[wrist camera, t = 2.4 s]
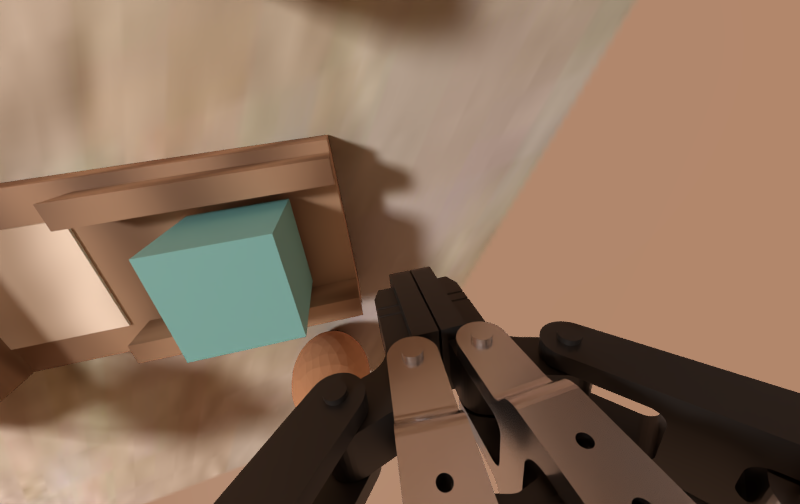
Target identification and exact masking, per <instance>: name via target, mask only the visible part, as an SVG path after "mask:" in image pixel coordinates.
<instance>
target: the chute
mask: <svg viewBox="0 0 800 504" xmlns="http://www.w3.org/2000/svg"><path fill="white" fill-rule="evenodd" d="M283 199H289V200H290V204H291V207H292V211H293V214H294V218H295V221H296V225H297V228H298V231H299V235H300V238H301V242H302V245H303V249H304V252H305V256H306V259H307V263H308V266H309V270H310V273H311V277H312V280H313V283H312V291H311V299H310V308H309V316H308V325H307V327H309V326H314V325H318V324H323V323H327V322H332V321H336V320H341V319H346V318H350V317H355V316H359V315H363V312H362V305H361V302H362V301H361V294H360V287H359V280H358V275H357V270H356V265H355V261H354V256H353V251H352V247H351V242H350V237H349V232H348V228H347V223H346V218H345V214H344V209H343V204H342V199H341V195H340V190H339V185H338V181H337V176H336V171H335V166H334V162H333V157H332V152H331V148H330V143H329V138H328V135H322V136H315V137H309V138H302V139H295V140H288V141H282V142H275V143H268V144H261V145H255V146H248V147H241V148H234V149H227V150H221V151H214V152H207V153H200V154H194V155H187V156H180V157H173V158H167V159H160V160H153V161H146V162H140V163H133V164H126V165H119V166H113V167H106V168H99V169H92V170H86V171H79V172H72V173H65V174H59V175H52V176H45V177H38V178H32V179H25V180H18V181H11V182H5V183H0V402H1V401H2V400H3V399H4V398H5V397H7V396H8V395H9V394H10V393H11V392H12V391H13V390H14V389H15V388H17V387H18V386H19V385H20V384H21V383H22V382H23V381H24V380H26V379H27V378H28V377H29V376H30V375H31V374H32V373H33V372H35V371H40V370H45V369H49V368H54V367H59V366H63V365H68V364H73V363H78V362H82V361H87V360H92V359H96V358H101V357H106V356H110V355H115V354H120V353H125V352H129V351H131V353H132V354H133V356H134V357H135V359H136V360H137V362H138V363H144V362H148V361H153V360H158V359H162V358H167V357H171V356H176V355H180V354H182V352H181V350H180V349H179V347H178V345H177V343H176V342H175V340H174V338H173V336H172V335H171V333H170V331H169V329H168V328H167V326H166V324H165V322H164V321H163V319H162V317H161V315H160V314H159V312H158V310H157V308H156V307H155V305H154V303H153V301H152V300H151V298H150V296H149V295H148V293H147V291H146V289H145V288H144V286H143V284H142V282H141V281H140V279H139V277H138V275H137V274H136V272H135V270H134V268H133V267H132V265H131V263H130V261H129V259H130V258H131V257H133V256H134V255H135V254H137V253H138V252H139V251H141V250H142V249H143V248H145V247H146V246H147V245H149V244H150V243H151V242H153V241H154V240H155V239H157V238H158V237H159V236H161V235H162V234H163V233H165V232H166V231H167V230H169V229H170V228H171V227H173V226H174V225H175V224H177V223H178V222H179V221H181V220H182V219H183V218H185V217H186V216H189V215H195V214H200V213H206V212H212V211H218V210H224V209H230V208H236V207H242V206H248V205H254V204H259V203H265V202H271V201H277V200H283Z"/></svg>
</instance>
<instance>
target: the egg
mask: <svg viewBox="0 0 800 504" xmlns="http://www.w3.org/2000/svg"><path fill="white" fill-rule="evenodd" d="M336 373H351V374H354V375H356V376H358V377H359V378H360V379H361V378H363V377H364V376H366V375H368V374H370V370H369V364H368V360H367V357H366V354H365V352H364V350H363V349H362V347H361V345H360V344H359V343H358V342H357V341H356V340H355V339H354V338H353V337H351V336H350V335H348V334H346V333H343V332H339V331H328V332H324V333H321V334H319V335H317V336H316V337H314V338H313V339H311V340H310V341H309V342H308V343H307V344H306V345H305V347H304V348H303V349H302V350H301V352H300V354H299V356H298V358H297V361H296V363H295V366H294V370H293V377H292V397H293V401H294V404H295V407H297V406H298V404H299V403H300V402H301V401H302V400H303V399H304V397H305V396H306V395H307V394H308V393H309V392H310V390H311V389H312V388H313V387H314V386H315V385H316V384H317V383H318V382H319V381H320V380H322V379H324V378H325V377H327V376H329V375H332V374H336Z"/></svg>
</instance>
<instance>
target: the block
mask: <svg viewBox="0 0 800 504" xmlns="http://www.w3.org/2000/svg"><path fill="white" fill-rule="evenodd" d="M129 261H130V263H131V265H132V267H133V268H134V270H135V272H136V274H137V275H138V277H139V279H140V281H141V282H142V284H143V286H144V288H145V289H146V291H147V293H148V295H149V296H150V298H151V300H152V301H153V303H154V305H155V307H156V308H157V310H158V312H159V314H160V315H161V317H162V319H163V321H164V322H165V324H166V326H167V328H168V329H169V331H170V333H171V335H172V336H173V338H174V340H175V342H176V343H177V345H178V347H179V349H180V350H181V352H182V354H183V356H184V357H185V359H186V361H187V363H189V362H194V361H198V360H203V359H207V358H212V357H216V356H221V355H225V354H230V353H234V352H239V351H243V350H248V349H252V348H257V347H261V346H266V345H270V344H275V343H279V342H284V341H288V340H293V339H298V338H302V337H306V333H307V325H308V316H309V308H310V299H311V291H312V283H313V280H312V277H311V273H310V270H309V266H308V263H307V259H306V256H305V252H304V249H303V245H302V242H301V238H300V235H299V231H298V228H297V225H296V221H295V218H294V214H293V211H292V207H291V204H290V200H289V199H283V200H277V201H271V202H265V203H259V204H254V205H248V206H242V207H236V208H230V209H224V210H218V211H212V212H206V213H200V214H195V215H189V216H186V217H185V218H183V219H182V220H181V221H179V222H178V223H177V224H175V225H174V226H173V227H171V228H170V229H169V230H167V231H166V232H165V233H163V234H162V235H161V236H159V237H158V238H157V239H155V240H154V241H153V242H151V243H150V244H149V245H147V246H146V247H145V248H143V249H142V250H141V251H139V252H138V253H137V254H135V255H134V256H133V257H131V258H130V259H129Z"/></svg>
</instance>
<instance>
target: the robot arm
mask: <svg viewBox="0 0 800 504" xmlns="http://www.w3.org/2000/svg"><path fill="white" fill-rule="evenodd" d="M389 276H390V284H391V288H389V289H384V290H379V291H378V293H377V295H376V298H375V305H376V311H377V316H378V322H379V327H380V333H381V337H382V342H383V346H384V350H385V358H384V360H383V362H382V363H381V365H380V366H379V367H378V368H377V369H376V370H374V371H373V372H371V373H370V374H368V375H366V376H364V377H363V378H361V379H360V378H359V377H358V376H356V375H354V374H351V373H336V374H332V375H329V376H327V377H325V378H324V379H322V380H320V381H319V382H318V383H317V384H316V385H315V386H314V387H313V388H312V389H311V390H310V392H309V393H308V394H307V395H306V396H305V397H304V399H303V400H302V401H301V402H300V403H299V404H298V406H297V407H296V408H295V409H294V410H293V411H292V413H291V414H290V415H289V416H288V417H287V418H286V420H285V421H284V422H283V423H282V424H281V425H280V427H279V428H278V429H277V430H276V431H275V432H274V434H273V435H272V436H271V437H270V438H269V439H268V441H267V442H266V443H265V444H264V445H263V446H262V448H261V449H260V450H259V451H258V452H257V453H256V455H255V456H254V457H253V458H252V459H251V460H250V462H249V463H248V464H247V465H246V466H245V467H244V469H243V470H242V471H241V472H240V473H239V475H238V476H237V477H236V478H235V479H234V480H233V482H232V483H231V484H230V485H229V486H228V487H227V489H226V490H225V491H224V492H223V493H222V494H221V496H220V497H219V498H218V499H217V500H216V502H215V503H214V504H365V503H366V501H367V498H368V497H369V495H370V493H371V491H372V489H373V486H374V485H375V482H376V481H377V479H378V477H379V474H380V471H381V466H383V465H384V464H386V463H387V462H389V461H390V460H391V459H393V458H394V457H396V456H397V458H398V467H399V476H400V484H401V493H402V501H403V504H800V393H797V392H794V391H791V390H787V389H784V388H781V387H778V386H775V385H772V384H768V383H765V382H762V381H759V380H755V379H752V378H749V377H746V376H742V375H739V374H736V373H733V372H730V371H726V370H723V369H720V368H716V367H713V366H710V365H707V364H704V363H701V362H697V361H694V360H691V359H688V358H685V357H681V356H678V355H675V354H672V353H668V352H665V351H662V350H659V349H656V348H652V347H649V346H646V345H643V344H639V343H636V342H633V341H630V340H626V339H623V338H620V337H616V336H614V335H610V334H607V333H603V332H601V331H597V330H594V329H591V328H588V327H584V326H581V325H578V324H575V323H571V322H562V321H560V322H552V323H549V324H547V325H545V326H544V327H542V329H541V331H540V337H512V336H509V335H508V334H507V333H505V331H504V330H503V329H502V328H500V327H499V326H497V325H495V324H492V323H488V322H485V321H484V319H483V318H482V316H481V315H480V314H479V313H478V311H477V310H476V308H475V307H474V306H473V304H472V303H471V302H470V300H469V299H467V296H466V295H465V293H464V292H462V289H461V288H460V287H459V285H458V284H457V282H455V281H453V280H451V279H449V278H448V277H441V278H437V277H436V276H435V274H434V273H433V271H432V269H431V268H430V267H424V268H420V269H415V270H410V272H409V271H405V272H400V273H395V274H390V275H389ZM592 384H594V385H596V386H598V387H601V388H603V389H606V390H608V391H611V392H613V393H616V394H618V395H621V396H623V397H625V398H628V399H631V400H633V401H635V402H638V403H641V404H643V405H645V406H648V407H650V408H652V409H654V410H656V411H657V412H659V413H660V414H659V415H658V416H645V415H642V414H640V413H637V412H635V411H633V410H630V409H628V408H625V407H623V406H621V405H618V404H616V403H614V402H611V401H609V400H606V399H604V398H602V397H599V396H597V395H595V394H592V393H591V388H592ZM452 389H456V391H457V394H458V396H459V406H460V410H459V409H458V406H457V403H456V400H455V398H454V395H453V391H452ZM477 444H478V446H479V448H480V450H481V452H482V454H483V456H484V458H485V459H486V462H487V463H488V465H489V467H490V469H491V471H492V473H493V475H494V478H495V480H496V483H497V486H498V491H499V494H495V493H494V491H493V488H492V486H491V482H490V480H489V477H488V474H487V471H486V468H485V466H484V463H483V460H482V457H481V454H480V452H479V449H478V446H477Z"/></svg>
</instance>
